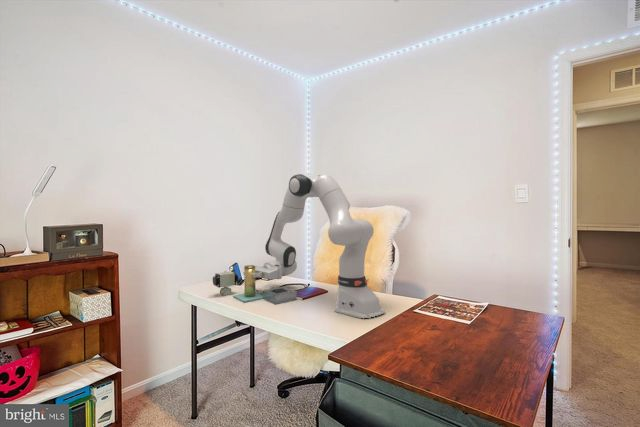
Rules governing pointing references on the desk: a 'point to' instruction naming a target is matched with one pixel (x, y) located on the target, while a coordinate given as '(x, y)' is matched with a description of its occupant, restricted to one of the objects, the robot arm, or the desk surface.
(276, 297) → the housing
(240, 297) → the pad
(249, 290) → the brass cylinder
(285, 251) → the robot arm
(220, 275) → the pneumatic valve
